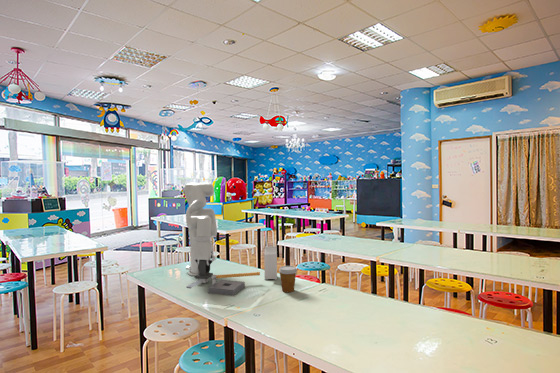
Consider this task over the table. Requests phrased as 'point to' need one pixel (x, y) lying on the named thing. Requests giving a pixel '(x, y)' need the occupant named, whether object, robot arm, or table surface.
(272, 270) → the milk carton
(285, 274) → the disposable coffee cup
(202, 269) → the plug
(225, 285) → the socket
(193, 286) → the mat
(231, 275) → the orange rod with ball
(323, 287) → the table surface
